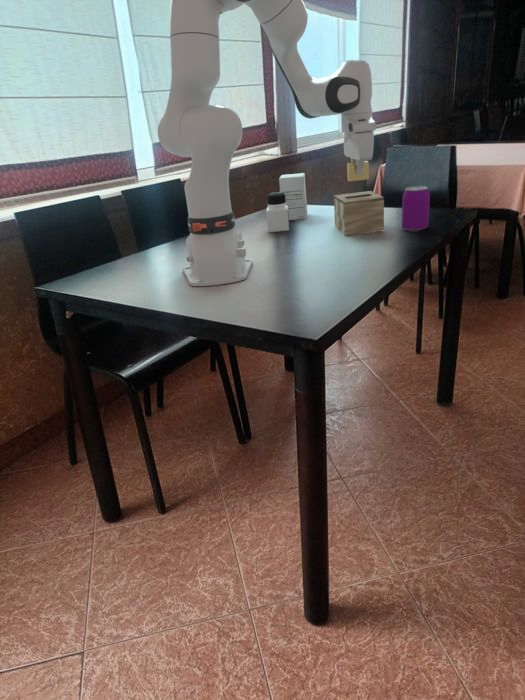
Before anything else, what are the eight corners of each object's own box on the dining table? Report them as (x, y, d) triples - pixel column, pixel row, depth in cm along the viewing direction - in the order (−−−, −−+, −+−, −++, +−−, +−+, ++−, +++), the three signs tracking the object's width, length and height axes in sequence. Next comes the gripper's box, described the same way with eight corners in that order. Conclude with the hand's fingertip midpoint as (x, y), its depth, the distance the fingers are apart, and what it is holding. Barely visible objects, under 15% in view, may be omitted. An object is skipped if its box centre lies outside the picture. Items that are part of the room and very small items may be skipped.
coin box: (383, 231, 150) (383, 197, 146) (345, 235, 150) (344, 202, 146) (370, 222, 163) (370, 190, 159) (335, 226, 163) (333, 195, 158)
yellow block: (368, 179, 149) (368, 161, 147) (349, 181, 149) (348, 164, 147) (366, 178, 151) (366, 160, 149) (347, 180, 151) (347, 163, 149)
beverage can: (426, 225, 152) (428, 184, 146) (429, 231, 145) (431, 188, 140) (400, 226, 153) (401, 186, 148) (402, 232, 146) (403, 191, 141)
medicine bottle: (289, 230, 164) (286, 193, 159) (268, 232, 164) (264, 195, 159) (289, 226, 170) (286, 190, 165) (268, 228, 171) (265, 192, 166)
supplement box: (284, 215, 188) (280, 174, 181) (307, 214, 186) (305, 172, 180) (281, 220, 180) (278, 178, 173) (306, 219, 178) (303, 175, 172)
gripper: (338, 124, 153) (339, 171, 159) (354, 126, 134) (356, 179, 140) (358, 122, 153) (359, 169, 159) (377, 123, 134) (377, 176, 140)
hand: (357, 174), depth 149 cm, fingers closed on yellow block, 2 cm apart
